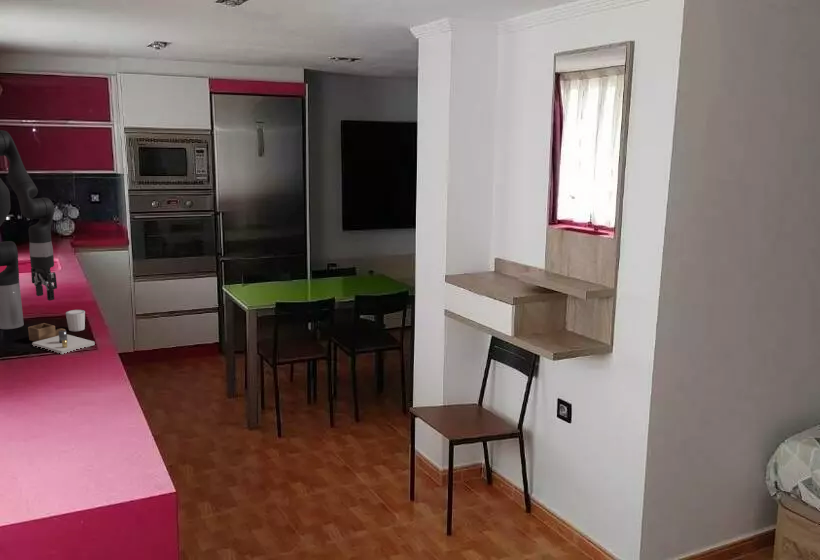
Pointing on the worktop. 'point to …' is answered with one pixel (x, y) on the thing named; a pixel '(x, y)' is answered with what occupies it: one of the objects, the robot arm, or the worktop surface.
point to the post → (62, 335)
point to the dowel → (64, 343)
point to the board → (56, 346)
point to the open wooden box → (42, 332)
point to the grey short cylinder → (76, 320)
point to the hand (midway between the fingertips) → (45, 297)
